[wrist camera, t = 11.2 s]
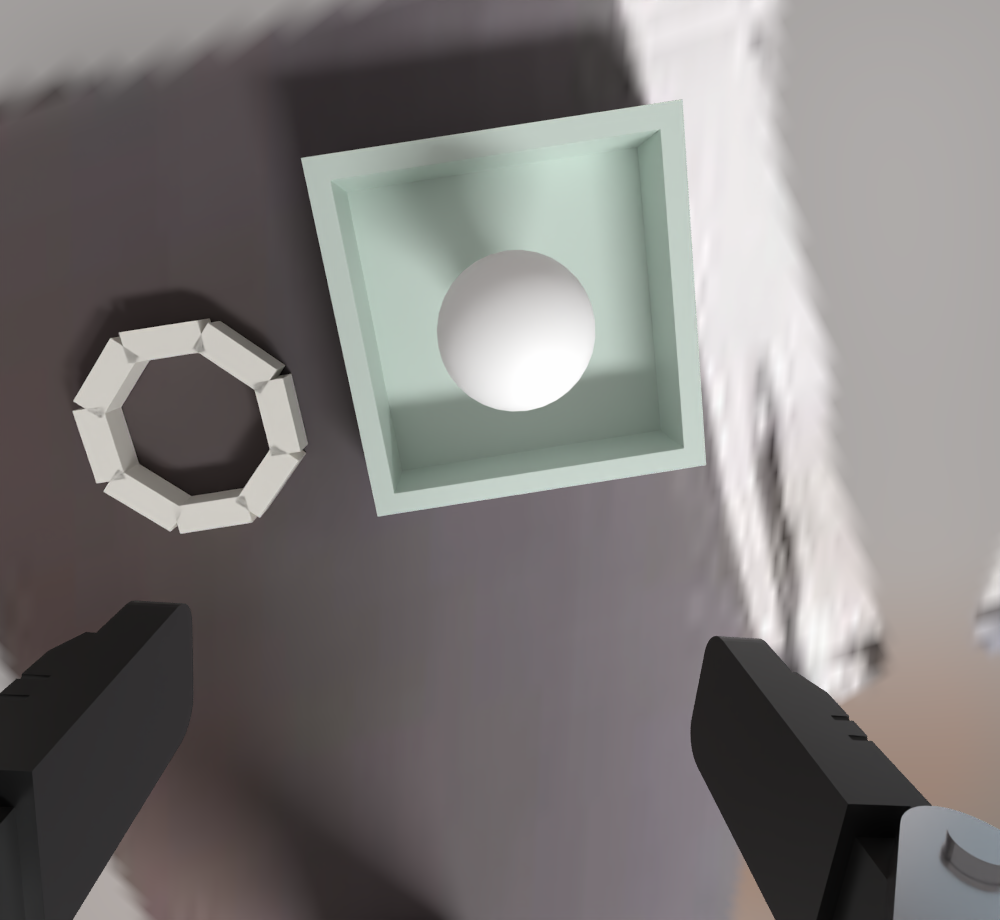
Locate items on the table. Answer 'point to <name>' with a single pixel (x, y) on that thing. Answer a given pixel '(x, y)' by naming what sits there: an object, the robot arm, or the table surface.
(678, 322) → the bin
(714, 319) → the table surface
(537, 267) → the lightbulb
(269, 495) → the socket collar
